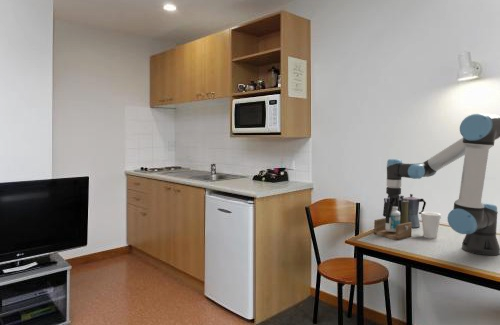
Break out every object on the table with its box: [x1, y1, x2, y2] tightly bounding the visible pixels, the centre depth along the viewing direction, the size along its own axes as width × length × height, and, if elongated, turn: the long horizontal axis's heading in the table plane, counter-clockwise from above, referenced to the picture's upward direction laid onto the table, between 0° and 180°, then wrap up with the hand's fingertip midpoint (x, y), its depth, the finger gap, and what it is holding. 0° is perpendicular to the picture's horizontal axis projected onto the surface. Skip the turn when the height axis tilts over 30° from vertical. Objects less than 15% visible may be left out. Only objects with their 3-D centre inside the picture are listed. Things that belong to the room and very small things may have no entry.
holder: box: [373, 217, 413, 241], centre depth 188 cm, size 17×12×8 cm
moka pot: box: [403, 193, 427, 229], centre depth 207 cm, size 10×15×20 cm, turn 40°
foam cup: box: [420, 211, 442, 239], centre depth 185 cm, size 10×9×13 cm
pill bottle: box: [385, 206, 400, 232], centre depth 188 cm, size 8×7×14 cm
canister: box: [399, 195, 409, 224], centre depth 202 cm, size 11×10×20 cm
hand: (392, 227), depth 188 cm, fingers closed on pill bottle, 7 cm apart
